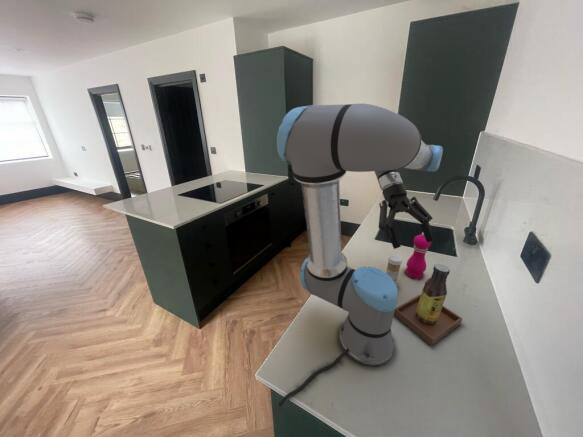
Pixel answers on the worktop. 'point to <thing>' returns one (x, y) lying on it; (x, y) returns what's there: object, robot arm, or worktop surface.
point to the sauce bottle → (433, 295)
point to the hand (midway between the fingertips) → (414, 244)
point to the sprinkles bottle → (394, 266)
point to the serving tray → (425, 331)
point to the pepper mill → (418, 257)
